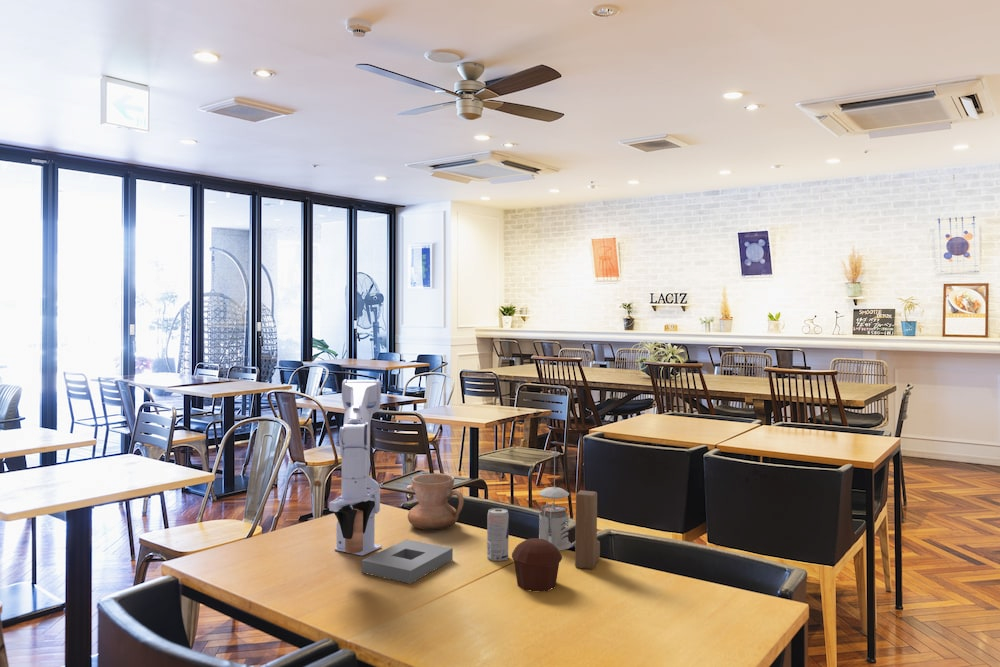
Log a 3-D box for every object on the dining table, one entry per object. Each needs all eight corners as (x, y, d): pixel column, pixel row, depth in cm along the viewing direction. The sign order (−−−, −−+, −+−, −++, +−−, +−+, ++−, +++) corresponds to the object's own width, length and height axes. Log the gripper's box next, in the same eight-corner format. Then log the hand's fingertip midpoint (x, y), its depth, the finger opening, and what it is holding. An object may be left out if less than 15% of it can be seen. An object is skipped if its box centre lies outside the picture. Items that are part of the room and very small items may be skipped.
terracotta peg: (341, 551, 162) (341, 512, 162) (352, 546, 166) (353, 508, 166) (355, 554, 160) (355, 514, 160) (366, 549, 164) (366, 510, 164)
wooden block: (582, 556, 181) (583, 485, 181) (600, 558, 180) (601, 487, 180) (574, 567, 173) (575, 494, 172) (593, 570, 171) (593, 495, 171)
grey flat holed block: (361, 572, 168) (361, 560, 168) (406, 550, 184) (406, 539, 184) (410, 583, 162) (410, 570, 161) (452, 560, 177) (452, 548, 177)
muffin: (572, 584, 162) (572, 541, 162) (540, 598, 154) (541, 552, 154) (532, 571, 170) (533, 529, 170) (500, 584, 162) (501, 540, 162)
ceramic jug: (394, 529, 202) (394, 479, 202) (420, 516, 216) (420, 469, 215) (449, 538, 195) (450, 486, 195) (473, 524, 208) (474, 476, 208)
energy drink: (509, 554, 182) (509, 508, 181) (507, 562, 176) (507, 514, 176) (488, 554, 182) (488, 507, 182) (485, 561, 177) (486, 513, 177)
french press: (575, 541, 194) (576, 449, 193) (565, 554, 183) (566, 457, 182) (540, 537, 197) (541, 446, 196) (528, 549, 186) (529, 454, 185)
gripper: (346, 485, 154) (346, 547, 155) (387, 472, 167) (387, 529, 168) (322, 481, 158) (321, 542, 158) (364, 468, 171) (363, 525, 171)
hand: (354, 535), depth 163 cm, fingers closed on terracotta peg, 4 cm apart
